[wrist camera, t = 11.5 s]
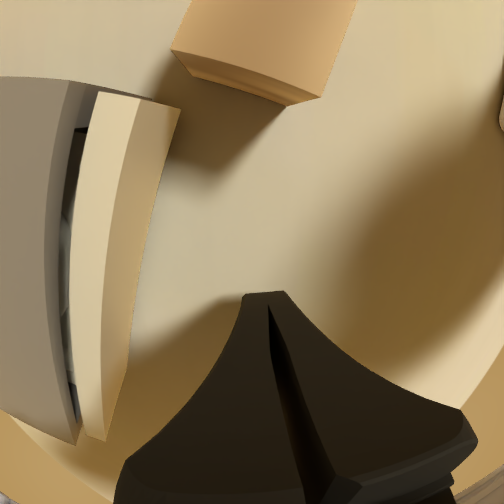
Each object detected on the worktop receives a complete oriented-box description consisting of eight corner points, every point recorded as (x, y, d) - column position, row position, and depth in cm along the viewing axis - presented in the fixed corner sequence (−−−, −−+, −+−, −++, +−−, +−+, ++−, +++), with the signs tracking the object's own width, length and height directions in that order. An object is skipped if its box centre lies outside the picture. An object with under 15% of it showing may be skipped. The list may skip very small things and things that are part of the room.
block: (318, 28, 7) (362, -13, 4) (287, 106, 8) (320, 97, 5) (227, -3, 6) (226, -59, 3) (192, 76, 7) (170, 49, 4)
